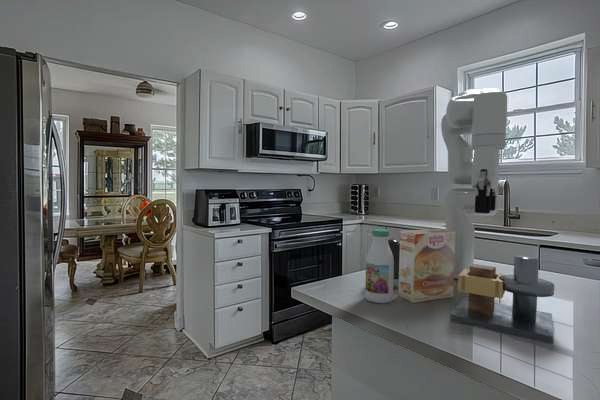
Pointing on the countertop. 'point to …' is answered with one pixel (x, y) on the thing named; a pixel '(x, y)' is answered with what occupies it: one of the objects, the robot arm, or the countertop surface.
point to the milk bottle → (379, 269)
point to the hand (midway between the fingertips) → (485, 211)
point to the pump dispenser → (395, 260)
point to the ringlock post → (516, 305)
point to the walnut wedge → (480, 301)
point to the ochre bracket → (481, 285)
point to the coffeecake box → (426, 264)
